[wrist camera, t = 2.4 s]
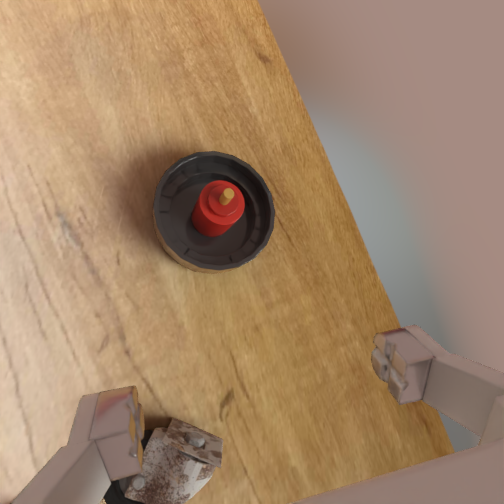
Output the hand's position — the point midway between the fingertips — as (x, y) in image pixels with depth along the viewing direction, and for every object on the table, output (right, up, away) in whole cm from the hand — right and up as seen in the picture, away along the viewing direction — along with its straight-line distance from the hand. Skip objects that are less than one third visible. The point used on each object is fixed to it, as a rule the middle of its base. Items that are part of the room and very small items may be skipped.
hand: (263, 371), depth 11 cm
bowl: (-6, +9, +35) cm, 37 cm away
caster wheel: (-11, -21, +29) cm, 37 cm away
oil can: (-6, +9, +34) cm, 36 cm away
